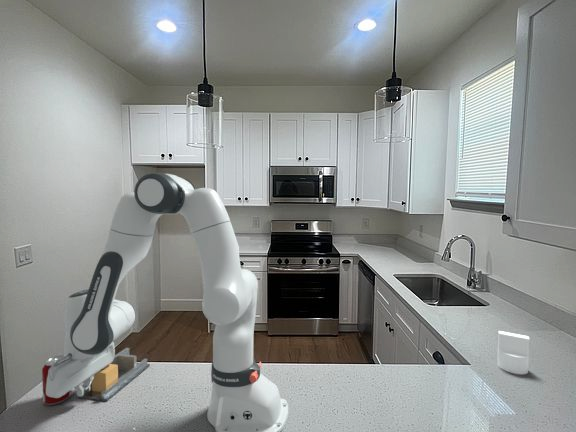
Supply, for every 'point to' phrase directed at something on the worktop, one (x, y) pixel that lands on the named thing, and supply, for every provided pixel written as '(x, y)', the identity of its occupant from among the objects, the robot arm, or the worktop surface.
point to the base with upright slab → (513, 352)
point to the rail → (119, 375)
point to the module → (105, 377)
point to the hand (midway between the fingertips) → (83, 393)
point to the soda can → (45, 370)
